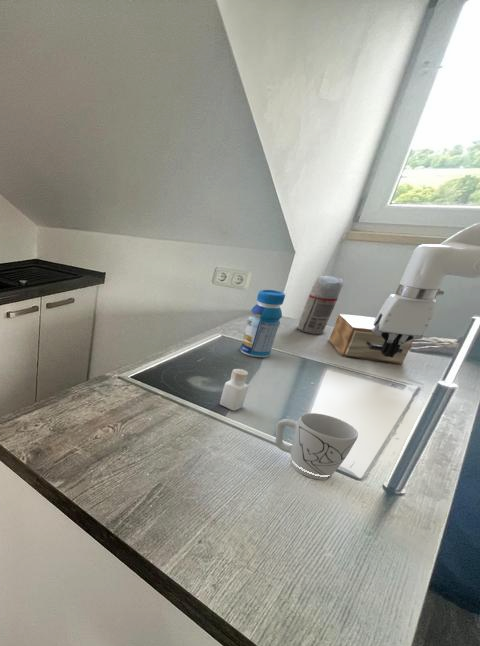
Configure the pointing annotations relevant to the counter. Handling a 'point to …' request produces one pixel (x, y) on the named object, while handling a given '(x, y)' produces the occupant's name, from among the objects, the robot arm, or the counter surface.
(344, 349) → the cabinet
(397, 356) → the drawer
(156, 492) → the counter surface
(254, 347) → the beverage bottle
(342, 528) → the counter surface
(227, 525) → the counter surface
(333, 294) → the spray can
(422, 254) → the robot arm
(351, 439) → the mug
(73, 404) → the counter surface
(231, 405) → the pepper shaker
